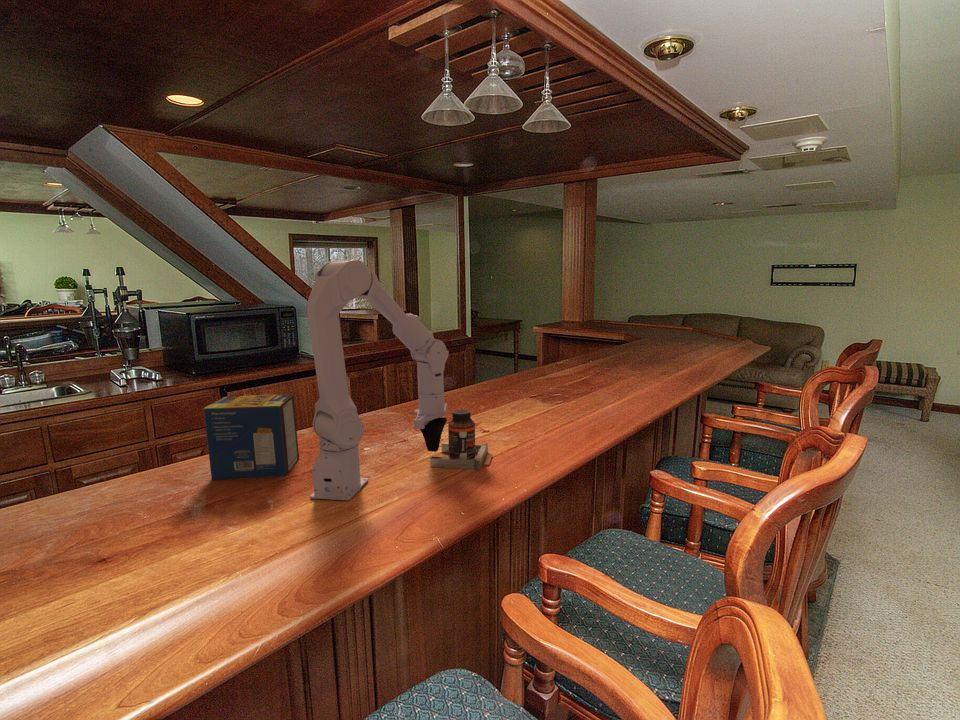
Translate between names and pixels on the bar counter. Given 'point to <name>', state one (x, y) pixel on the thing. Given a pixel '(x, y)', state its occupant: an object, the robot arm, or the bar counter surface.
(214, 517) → the bar counter surface
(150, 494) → the bar counter surface
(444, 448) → the bracket
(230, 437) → the protein box
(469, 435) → the supplement bottle
